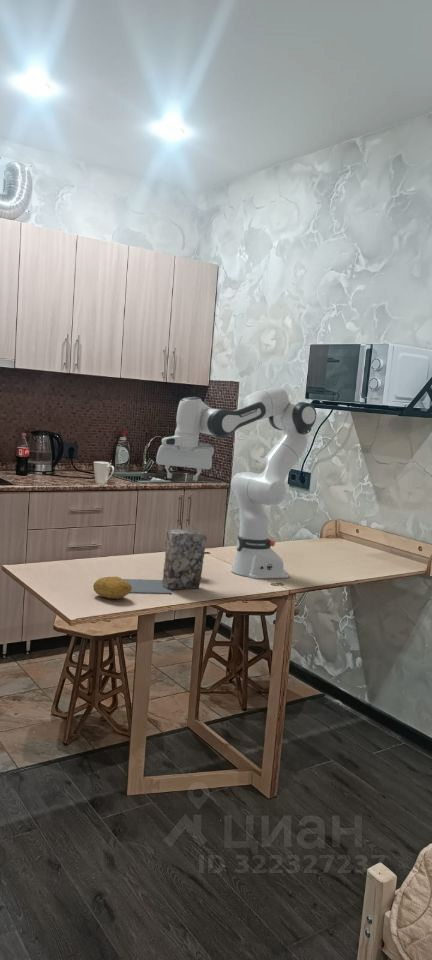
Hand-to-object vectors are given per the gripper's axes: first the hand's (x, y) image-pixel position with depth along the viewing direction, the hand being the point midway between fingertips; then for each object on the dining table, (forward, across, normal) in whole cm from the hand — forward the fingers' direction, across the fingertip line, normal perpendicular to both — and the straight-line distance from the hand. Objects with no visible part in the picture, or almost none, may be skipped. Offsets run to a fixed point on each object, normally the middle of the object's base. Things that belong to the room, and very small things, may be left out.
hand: (182, 479), depth 258 cm
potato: (+38, +22, +31) cm, 53 cm away
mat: (+37, +12, +16) cm, 42 cm away
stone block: (+36, -2, +15) cm, 39 cm away
